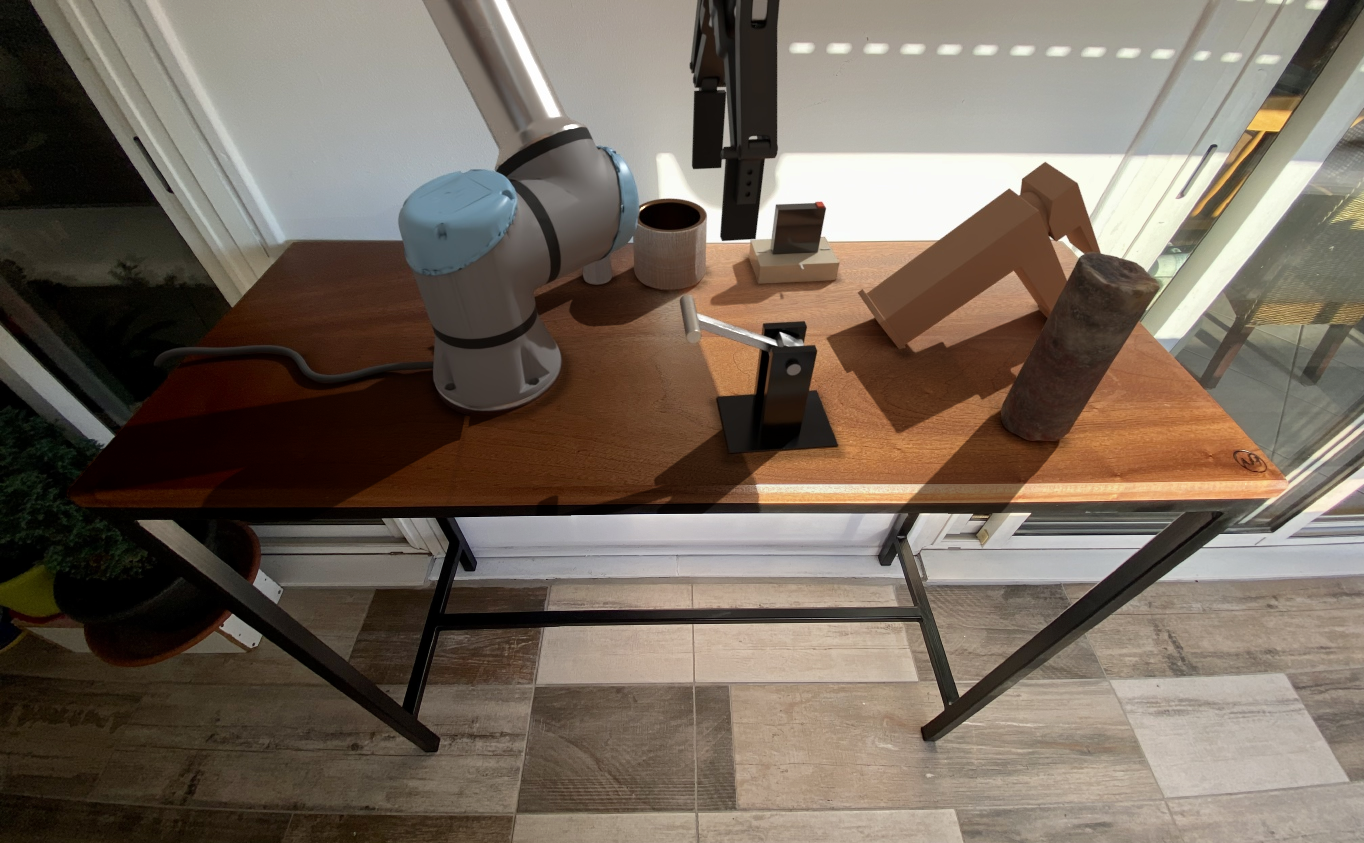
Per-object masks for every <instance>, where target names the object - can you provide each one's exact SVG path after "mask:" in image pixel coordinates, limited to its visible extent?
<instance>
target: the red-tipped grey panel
mask: <svg viewBox="0 0 1364 843" xmlns="http://www.w3.org/2000/svg"><path fill="white" fill-rule="evenodd" d="M826 211H827V207H826V206H825V204H824V202H823V201H815V202H807V203H805V202H804V203H803V202H802V203H779V204H778V203H777V204H775V208H774V214H773V215H774V216H773V222H772V230H771V238H770V239H771V247H770V249H771V251H772V254H791V253H814V252H818V249H819V244H820V238H821V237H822V232H823V226H824V222H825V217H826Z"/></svg>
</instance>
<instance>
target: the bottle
mask: <svg viewBox="0 0 1364 843" xmlns="http://www.w3.org/2000/svg"><path fill="white" fill-rule="evenodd" d="M581 270H582V276H583V277H582V278H583V280H584V281H585V282H586V283H587V284H590V285H596V286H597V285H598V286H599V285H604V284H606V283H609V282H610V281H611V280H612V279H613V268H612V258H611V254H610V255H609V256H608V257H606V258H604V259H603V260H599V261H595V262H593V263H591V264H589V265H587V266H584V267H582V268H581Z"/></svg>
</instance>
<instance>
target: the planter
mask: <svg viewBox="0 0 1364 843" xmlns="http://www.w3.org/2000/svg"><path fill="white" fill-rule="evenodd" d="M637 221H638V223H637V227H636V230H635V233H634V235H633V237H632V244H633V245H632V247H633V248H632V250H633V270H634V275H635V277H636V278H637V280H638V281H639V282H640V283H642V284H643V285H645V286H647V287H649V288H652V289H655V290H659V291H664V292H665V291H666V292H667V291H668V292H669V291H671V292H674V291H682V290H685V289H688V288H691V287H693V286H695V285H697V284H698V283H699V282H701V281H702V280H703V279H704V276H705V274H706V269H707V268H706V267H707V266H706V265H707V229H708V213H707V211H706V210H705V208H704V207H702V206H701V205H700V204H697V203H695V202H693V201H691V200H686V199H681V198H671V197H670V198H668V197H667V198H658V199H652V200H649V201H646V202H643V203H641V204H639V216H638V217H637Z"/></svg>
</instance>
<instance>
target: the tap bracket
mask: <svg viewBox="0 0 1364 843" xmlns="http://www.w3.org/2000/svg"><path fill="white" fill-rule="evenodd" d="M807 330H808V325H807V322H806V320H799V321H797V320H796V321H781V322H780V321H779V322H778V321H777V322H763V323H762V327H761V334H760V335H763V336H766V337H768V338H771V339H775V337H776V336H777V335H778V333H779V332H782V333H784V334H787V335H790V336H793V337H796V338H799V339H801V340H802V341H803V343H804V344H805V339H806V334H807ZM758 350H759V351H758V358H757V365H756V374H755V382H754V390H753V393H750V394H749V393H748V394H734V395H718V396H717V397H716V400H717V404H718V407H719V411H720V412H719V413H720V417H721V422H722V427H723V430H724V431H723V432H724V437H725V441H726V445H727V450H728V454H729V455H736V454H737V455H738V454H751V453H766V452H779V451H780V452H781V451H792V450H794V451H795V450H808V449H819V448H821V449H823V448H835V447H839V443H838V440H837V438H836V435H835V432H834V430H833V428H832V425H831V423H830V420H829V417H828V415H827V413H826V410H825V408H824V405H823V402H822V399H821V397H820V395H819V392H818V390H817V389H814V390H813V389H811V390H810V388H811V383H812V379H813V374H814V368H815V364H816V359H817V355H818V349H817V347H816V345H815V344H810V345H809V344H807V345H804V346H788V347H771V351H770V356H769V353H768V352H767V351H764V350H761V349H758Z"/></svg>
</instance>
